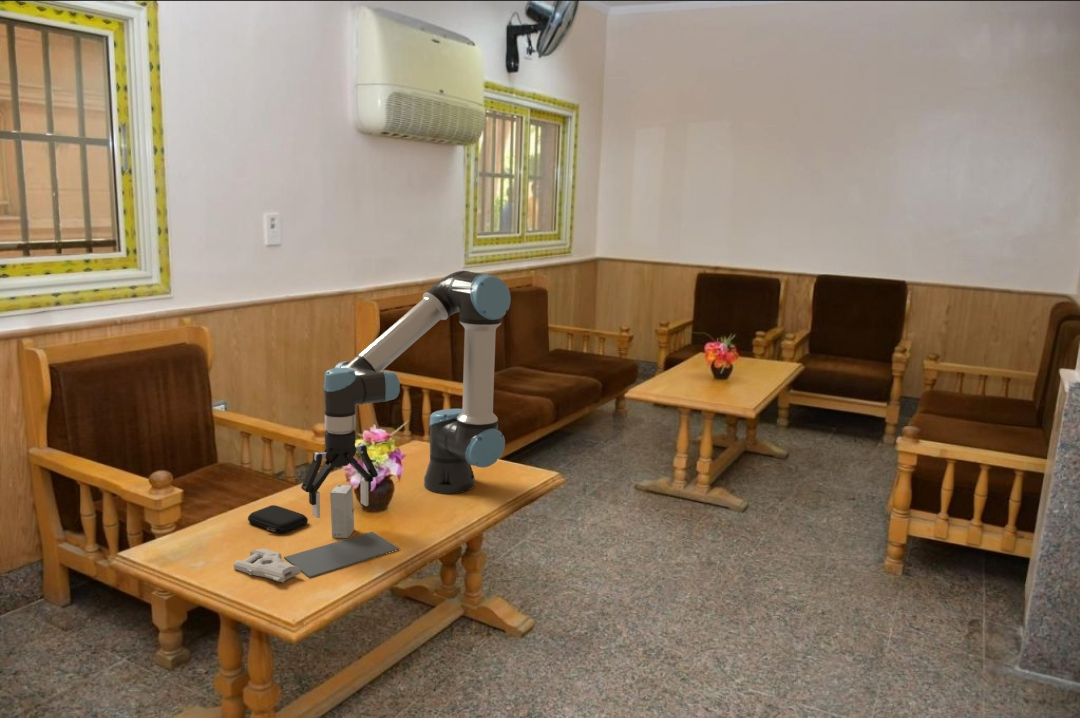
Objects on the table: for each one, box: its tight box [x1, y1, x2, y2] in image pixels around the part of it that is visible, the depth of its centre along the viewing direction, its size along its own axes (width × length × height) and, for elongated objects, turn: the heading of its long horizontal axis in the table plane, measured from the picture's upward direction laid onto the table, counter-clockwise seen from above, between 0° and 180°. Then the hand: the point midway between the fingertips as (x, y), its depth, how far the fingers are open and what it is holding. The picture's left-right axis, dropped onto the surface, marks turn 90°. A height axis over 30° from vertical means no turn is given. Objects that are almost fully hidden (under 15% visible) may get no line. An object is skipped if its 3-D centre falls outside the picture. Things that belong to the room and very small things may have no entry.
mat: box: [284, 531, 401, 579], centre depth 204 cm, size 24×13×1 cm, turn 132°
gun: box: [233, 548, 302, 583], centre depth 194 cm, size 18×4×10 cm
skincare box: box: [329, 484, 355, 539], centre depth 214 cm, size 6×4×12 cm
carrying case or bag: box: [247, 504, 309, 535], centre depth 220 cm, size 11×3×15 cm
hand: (340, 510), depth 214 cm, fingers open, 13 cm apart
